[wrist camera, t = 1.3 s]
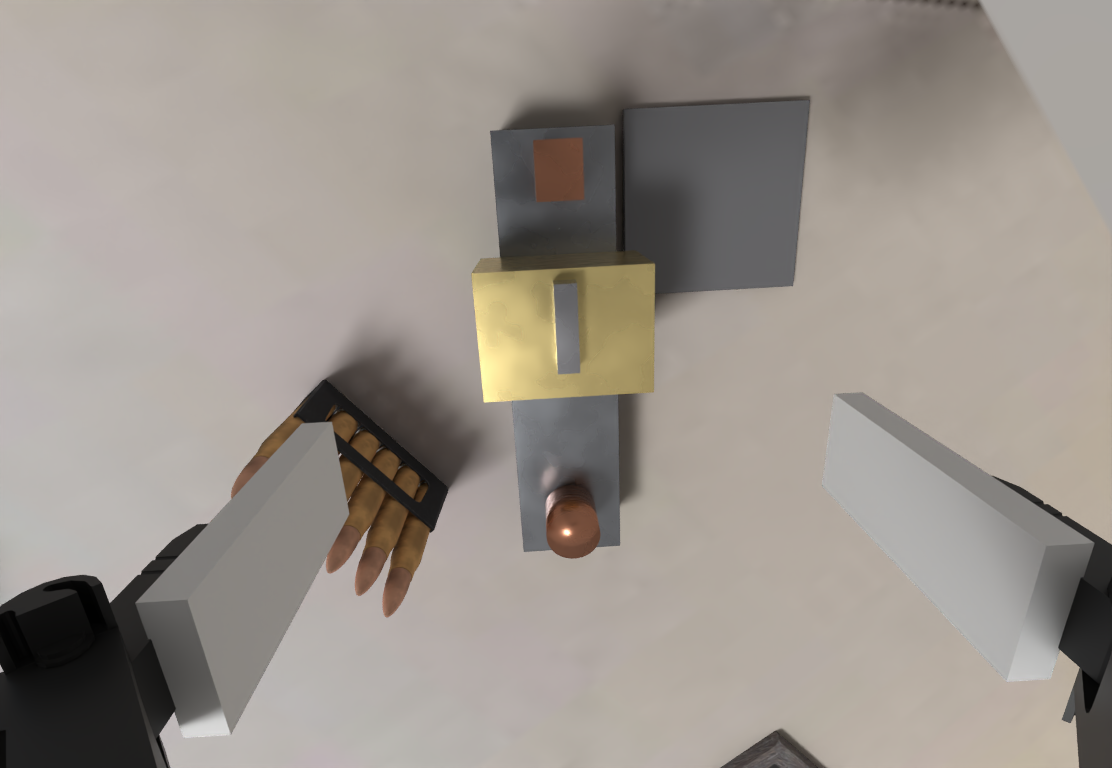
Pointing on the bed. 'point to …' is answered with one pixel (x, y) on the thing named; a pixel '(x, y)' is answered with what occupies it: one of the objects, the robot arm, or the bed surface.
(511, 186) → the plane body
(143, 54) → the bed surface
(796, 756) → the picture frame
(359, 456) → the ammunition clip
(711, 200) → the felt mat
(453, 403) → the bed surface
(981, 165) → the bed surface
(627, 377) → the lever cap
